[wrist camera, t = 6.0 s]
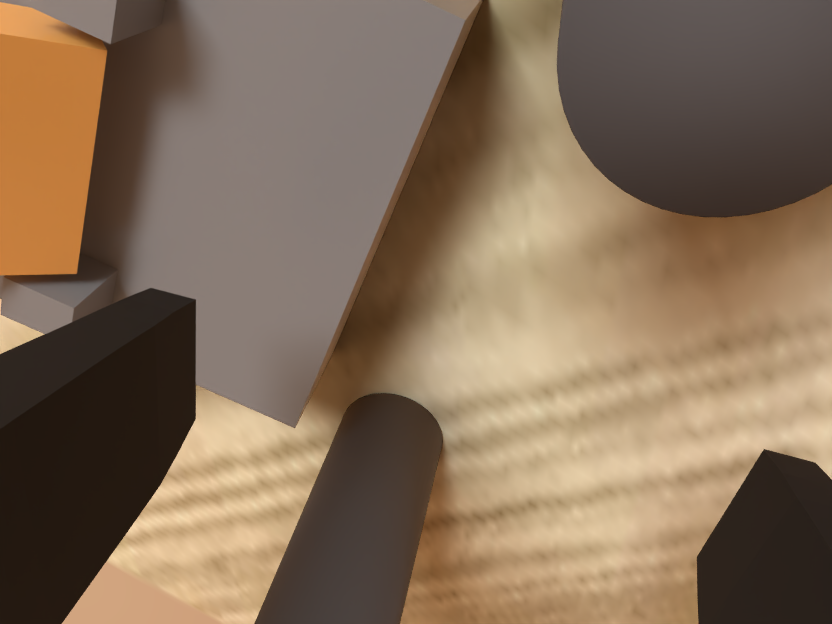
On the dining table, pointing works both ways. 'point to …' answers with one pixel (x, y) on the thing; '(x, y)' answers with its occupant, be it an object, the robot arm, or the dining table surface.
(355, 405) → the cylinder
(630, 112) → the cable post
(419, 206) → the dining table surface
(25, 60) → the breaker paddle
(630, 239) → the dining table surface
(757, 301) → the dining table surface
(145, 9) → the switch box
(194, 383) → the robot arm
